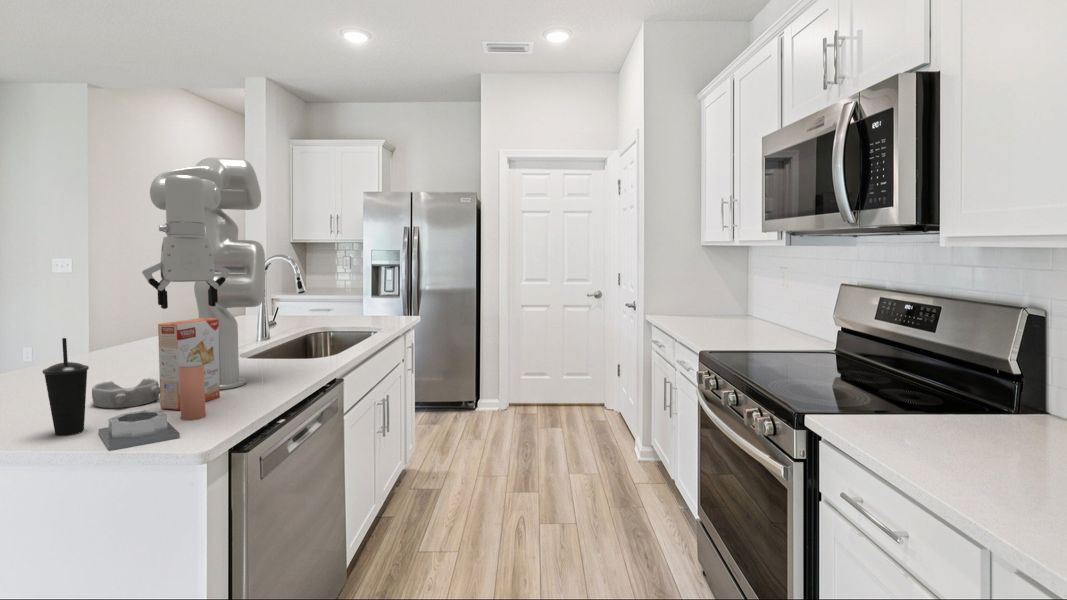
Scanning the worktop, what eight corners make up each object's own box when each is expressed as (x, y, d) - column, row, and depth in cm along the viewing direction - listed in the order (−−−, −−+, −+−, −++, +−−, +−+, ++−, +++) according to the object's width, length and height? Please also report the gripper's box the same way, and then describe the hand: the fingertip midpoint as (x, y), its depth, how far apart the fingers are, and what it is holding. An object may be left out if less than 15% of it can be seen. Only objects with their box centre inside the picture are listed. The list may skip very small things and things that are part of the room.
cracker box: (180, 411, 144) (177, 324, 142) (159, 409, 145) (155, 323, 143) (222, 397, 158) (219, 317, 156) (202, 395, 159) (199, 317, 157)
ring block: (98, 433, 126) (97, 414, 126) (164, 422, 134) (163, 405, 134) (109, 450, 116) (108, 430, 116) (179, 437, 124) (179, 418, 124)
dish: (87, 402, 151) (85, 383, 151) (150, 393, 161) (149, 375, 161) (101, 414, 142) (99, 393, 141) (167, 403, 152) (166, 383, 151)
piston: (178, 416, 139) (176, 362, 138) (202, 412, 143) (200, 360, 142) (183, 421, 136) (181, 366, 135) (208, 417, 139) (206, 363, 138)
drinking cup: (62, 427, 131) (57, 335, 129) (100, 426, 131) (95, 335, 129) (36, 438, 123) (31, 341, 121) (76, 437, 124) (71, 341, 122)
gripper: (144, 229, 127) (147, 310, 128) (232, 232, 139) (234, 306, 140) (137, 230, 132) (140, 308, 134) (222, 232, 144) (225, 304, 145)
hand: (188, 307), depth 137 cm, fingers open, 9 cm apart
